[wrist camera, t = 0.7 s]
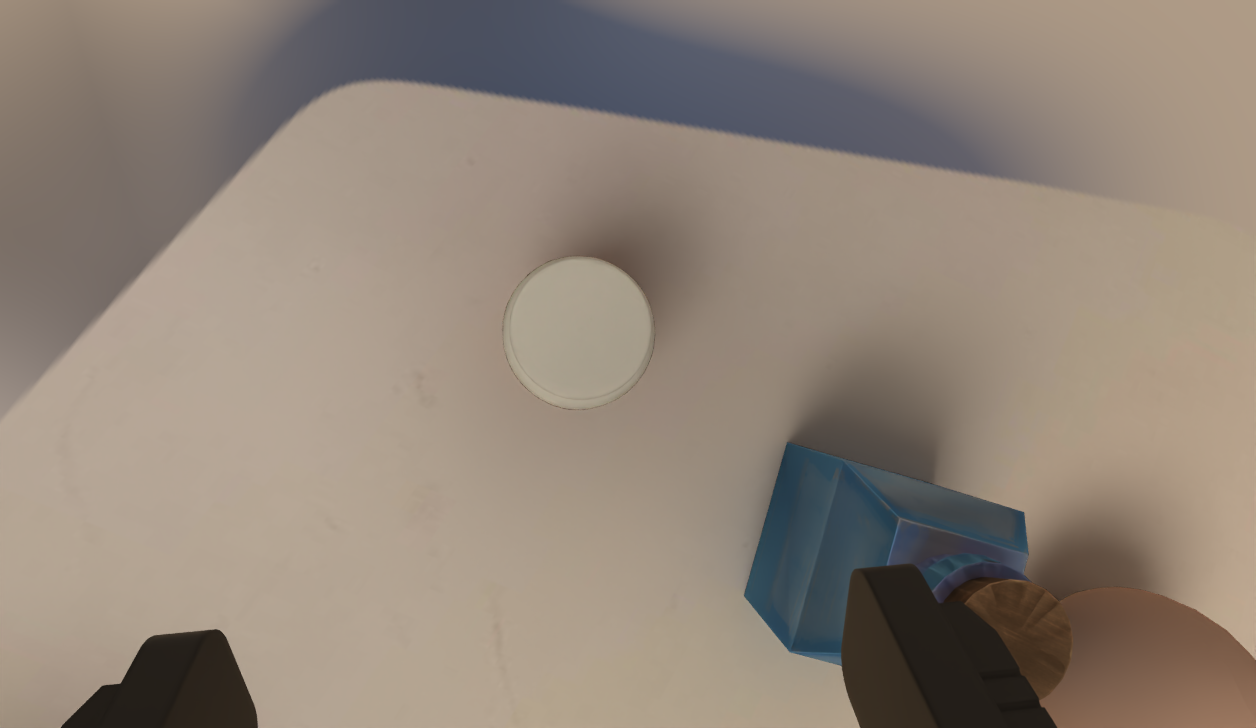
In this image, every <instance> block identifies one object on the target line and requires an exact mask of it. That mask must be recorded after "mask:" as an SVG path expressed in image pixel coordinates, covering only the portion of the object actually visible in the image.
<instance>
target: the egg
mask: <svg viewBox="0 0 1256 728" xmlns="http://www.w3.org/2000/svg"><path fill="white" fill-rule="evenodd" d="M1059 602H1060V603H1061V605H1062V607H1063V609H1064V611H1065V613H1066V614H1067V616H1068V618H1069V620H1070V625H1071V630H1072V635H1073V648H1072V656H1071V662H1070V664H1069V666H1068V668H1067V671H1066V673H1065V675H1064V678H1063V679H1062V681H1061V682H1060V683H1059V684H1058V685H1057V686H1056V688H1055V689H1054V690H1053V691H1052V692H1051V693H1050V694H1049V695H1048V696H1046V697H1045V698H1043V699H1041V700H1040V701H1039V702H1040V705H1041V707H1045V709H1046V710H1047V712H1048V713H1049V715H1050V717H1051V718H1052V720H1053V721H1054V723H1055V724H1056V726H1057V728H1256V660H1255V659H1254V658H1253V657H1252V655H1251V654H1250V653H1249V652H1248V651H1247V650H1246V649H1245V648H1244V647H1243V646H1242V645H1241V644H1240V643H1239V642H1238V641H1237V640H1236V639H1235V638H1234V637H1233V636H1232V635H1231V634H1230V633H1229V632H1228V631H1227V630H1226V629H1224V628H1222V627H1221V626H1219V625H1218V624H1216V623H1215V622H1213V621H1212V620H1210V619H1209V618H1207V617H1206V616H1204V615H1203V614H1201V613H1200V612H1198V611H1197V610H1195V609H1193V608H1190V607H1188V606H1186V605H1183V604H1181V603H1179V602H1176V601H1174V600H1172V599H1169V598H1167V597H1165V596H1162V595H1159V594H1155V593H1151V592H1148V591H1144V590H1141V589H1132V588H1123V587H1104V588H1095V589H1090V590H1086V591H1081V592H1077V593H1074V594H1072V595H1070V596H1068V597H1066V598H1064V599H1063V600H1061V601H1059Z"/></svg>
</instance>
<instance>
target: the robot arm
mask: <svg viewBox="0 0 1256 728" xmlns="http://www.w3.org/2000/svg"><path fill="white" fill-rule="evenodd" d="M841 663H842V671H843V677H844V682H845V686H846V690H847V693H848V696H849V699H850V702H851V704H852V707H853V710H854V712H855V715H856V717H857V720H858V722H859V725H860V728H1057V726H1056V724H1055V723H1054V721H1053V720H1052V718H1051V717H1050V715H1049V713H1048V712H1047V710H1046V709H1045V707H1041V705H1040V702H1039V697H1038V696H1037V694H1036V693H1035V691H1034V689H1033V688H1032V686H1031V685H1030V683H1029V682H1028V680H1027V678H1026V677H1025V676H1022V675H1021V673H1020V667H1019V666H1018V664H1017V662H1016V661H1015V659H1014V658H1013V656H1012V654H1011V653H1010V651H1009V650H1008V648H1007V647H1006V645H1005V643H1004V642H1003V640H1002V639H1001V637H1000V635H999V634H998V632H997V631H996V630H995V629H994V628H993V627H991V626H990V625H989V624H988V623H987V622H985V621H984V620H983V619H982V618H981V617H980V616H978V615H977V614H976V613H975V612H974V611H972V610H971V609H970V608H969V607H968V606H966V605H965V604H964V603H963V602H962V601H955V602H945V603H938V601H937V599H936V598H935V596H934V594H933V592H932V591H931V589H930V587H929V585H928V584H927V582H926V580H925V578H924V577H923V575H922V573H921V572H920V570H919V569H918V568H917V567H916V566H915V565H914V564H911V563H909V564H898V565H888V566H878V567H868V568H858V569H854V570H853V572H852V574H851V577H850V583H849V591H848V599H847V607H846V614H845V622H844V630H843V638H842V645H841ZM61 728H258V723H257V714H256V709H255V706H254V703H253V701H252V699H251V696H250V694H249V691H248V689H247V687H246V684H245V682H244V679H243V677H242V675H241V672H240V670H239V667H238V665H237V663H236V660H235V658H234V655H233V653H232V650H231V648H230V646H229V643H228V641H227V639H226V637H225V635H224V634H223V633H222V632H221V631H220V630H217V629H215V630H205V631H195V632H185V633H175V634H164V635H155V636H152V637H150V638H149V639H147V640H146V641H145V642H144V644H143V645H142V646H141V648H140V650H139V651H138V653H137V655H136V657H135V659H134V660H133V662H132V664H131V666H130V668H129V669H128V671H127V673H126V675H125V677H124V679H123V680H122V682H121V684H114V685H104V686H102V687H101V688H100V689H99V690H98V691H97V692H96V693H95V694H94V695H93V696H92V697H90V698H89V699H88V700H87V701H86V702H85V703H84V704H83V705H82V706H81V707H80V708H79V709H78V710H77V711H76V712H75V713H74V714H73V715H72V716H71V717H70V718H69V719H68V720H67V721H66V722H65V723H64V724H63V725H62V727H61Z"/></svg>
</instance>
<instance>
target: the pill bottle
mask: <svg viewBox="0 0 1256 728" xmlns="http://www.w3.org/2000/svg"><path fill="white" fill-rule="evenodd" d="M654 340H655V325H654V319H653V314H652V311H651V307H650V305H649V302H648V300H647V297H646V295H645V294H644V292H643V291H642V289H641V288H640V286H639V285H638V284H637V283H636V282H635V280H634V279H633V278H632V277H631V276H629V275H628V274H627V273H626V272H624V271H623V270H622V269H620V268H619V267H617V266H615V265H613V264H611V263H609V262H607V261H604V260H601V259H598V258H594V257H588V256H569V257H563V258H559V259H556V260H551V261H549V262H547V263H545V264H543V265H541V266H539V267H538V268H536V269H535V270H533V271H532V272H531V273H529V274H528V275H527V276H526V278H525V279H524V280H522V281H521V283H520V284H519V285H518V286H517V288H516V289H515V291H514V292H513V294H512V296H511V298H510V300H509V301H508V303H507V307H506V310H505V314H504V319H503V344H504V350H505V354H506V357H507V360H508V362H509V365H510V367H511V369H512V371H513V372H514V374H515V375H516V377H517V378H518V379H519V380H520V382H521V384H522V385H523V386H524V387H525V388H526V389H528V390H529V391H530V392H531V393H532V394H533V395H535V396H536V397H538V398H540V399H541V400H543V401H545V402H547V403H549V404H551V405H553V406H556V407H560V408H564V409H570V410H585V409H591V408H595V407H598V406H602V405H605V404H607V403H610V402H612V401H614V400H616V399H618V398H620V397H621V396H623V395H624V394H626V393H627V392H628V391H629V390H630V389H631V388H632V387H633V386H634V385H635V384H636V383H637V382H638V380H639V379H640V378H641V376H642V375H643V373H644V371H645V370H646V368H647V366H648V364H649V362H650V359H651V356H652V352H653V347H654Z"/></svg>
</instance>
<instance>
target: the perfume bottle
mask: <svg viewBox="0 0 1256 728" xmlns="http://www.w3.org/2000/svg"><path fill="white" fill-rule="evenodd" d="M1028 555H1029V553H1028V544H1027V535H1026V526H1025V516H1024V512H1021V511H1018V510H1015V509H1012V508H1009V507H1005V506H1002V505H999V504H996V503H992V502H989V501H986V500H983V499H979V498H976V497H973V496H970V495H966V494H963V493H960V492H957V491H954V490H950V489H947V488H944V487H941V486H937V485H934V484H931V483H927V482H924V481H920V480H917V479H913V478H910V477H906V476H903V475H899V474H896V473H892V472H889V471H885V470H882V469H878V468H875V467H871V466H868V465H864V464H861V463H857V462H854V461H850V460H847V459H844V458H840V457H837V456H833V455H830V454H826V453H823V452H819V451H816V450H812V449H809V448H805V447H802V446H798V445H795V444H791V443H788V442H787V445H786V448H785V452H784V455H783V459H782V462H781V466H780V470H779V473H778V477H777V480H776V484H775V487H774V491H773V495H772V498H771V502H770V505H769V509H768V512H767V516H766V519H765V523H764V527H763V530H762V534H761V537H760V541H759V544H758V548H757V551H756V555H755V559H754V562H753V566H752V569H751V573H750V576H749V580H748V584H747V587H746V591H745V594H744V596H745V598H746V599H747V600H748V601H749V603H750V604H751V605H752V606H753V608H754V609H755V610H756V611H757V612H758V614H759V615H760V616H761V617H762V619H763V620H764V621H765V622H766V624H767V625H768V626H769V627H770V628H771V630H772V631H773V632H774V633H775V635H776V636H777V637H778V638H779V640H780V641H781V642H782V643H783V644H784V646H785V647H786V648H787V649H788V651H789V652H791V653H795V654H799V655H803V656H807V657H810V658H814V659H818V660H822V661H825V662H829V663H833V664H837V665H841V666H842V663H841V645H842V638H843V630H844V622H845V614H846V607H847V599H848V591H849V583H850V577H851V574H852V572H853V570H854V569H858V568H868V567H878V566H888V565H898V564H909V563H911V564H914V565H915V566H916V567H917V568H918V569H919V570H920V572H921V573H922V575H923V577H924V578H925V580H926V582H927V584H928V585H929V587H930V589H931V591H932V592H933V594H934V596H935V598H936V599H937V601H938V603H945V602H955V601H962V602H963V603H964V604H965V605H966V606H968V607H969V608H970V609H971V610H972V611H974V612H975V613H976V614H977V615H978V616H980V617H981V618H982V619H983V620H984V621H985V622H987V623H988V624H989V625H990V626H991V627H993V628H994V629H995V630H996V631H997V632H998V634H999V635H1000V637H1001V639H1002V640H1003V642H1004V643H1005V645H1006V647H1007V648H1008V650H1009V651H1010V653H1011V654H1012V656H1013V658H1014V659H1015V661H1016V662H1017V664H1018V666H1019V667H1020V673H1021V675H1022V676H1025V677H1026V678H1027V680H1028V682H1029V683H1030V685H1031V686H1032V688H1033V689H1034V691H1035V693H1036V694H1037V696H1038V697H1039V701H1040V700H1041V699H1043V698H1045V697H1046V696H1048V695H1049V694H1050V693H1051V692H1052V691H1053V690H1054V689H1055V688H1056V686H1057V685H1058V684H1059V683H1060V682H1061V681H1062V679H1063V678H1064V675H1065V673H1066V671H1067V668H1068V666H1069V664H1070V662H1071V656H1072V648H1073V635H1072V630H1071V625H1070V620H1069V618H1068V616H1067V614H1066V613H1065V611H1064V609H1063V607H1062V605H1061V603H1060V602H1059V601H1058V600H1057V599H1056V598H1055V597H1054V596H1053V595H1052V594H1051V593H1049V592H1048V591H1047V590H1046V589H1044V588H1042V587H1040V586H1038V585H1036V584H1034V583H1032V582H1031V581H1030V580H1029V579H1028V578H1027V577H1026V576H1025V575H1023V574H1024V570H1025V566H1026V563H1027V559H1028Z"/></svg>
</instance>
